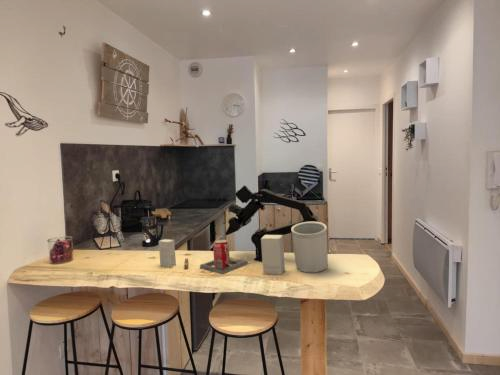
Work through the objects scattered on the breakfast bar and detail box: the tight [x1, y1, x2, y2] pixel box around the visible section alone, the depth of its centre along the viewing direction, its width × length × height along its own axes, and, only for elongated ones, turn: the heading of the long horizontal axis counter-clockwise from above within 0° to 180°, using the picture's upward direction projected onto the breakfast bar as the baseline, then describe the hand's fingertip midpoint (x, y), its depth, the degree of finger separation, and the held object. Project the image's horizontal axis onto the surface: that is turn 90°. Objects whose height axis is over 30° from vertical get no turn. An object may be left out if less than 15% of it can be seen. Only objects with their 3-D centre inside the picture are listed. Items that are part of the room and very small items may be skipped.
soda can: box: [212, 238, 231, 269], centre depth 163 cm, size 7×7×12 cm
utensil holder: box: [291, 221, 329, 273], centre depth 155 cm, size 15×15×18 cm
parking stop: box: [183, 257, 189, 270], centre depth 167 cm, size 10×2×2 cm, turn 8°
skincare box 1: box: [158, 238, 177, 268], centre depth 168 cm, size 6×4×12 cm
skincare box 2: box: [261, 235, 286, 276], centre depth 153 cm, size 8×7×16 cm
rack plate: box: [199, 257, 248, 275], centre depth 164 cm, size 14×16×2 cm
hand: (229, 232), depth 176 cm, fingers open, 9 cm apart
